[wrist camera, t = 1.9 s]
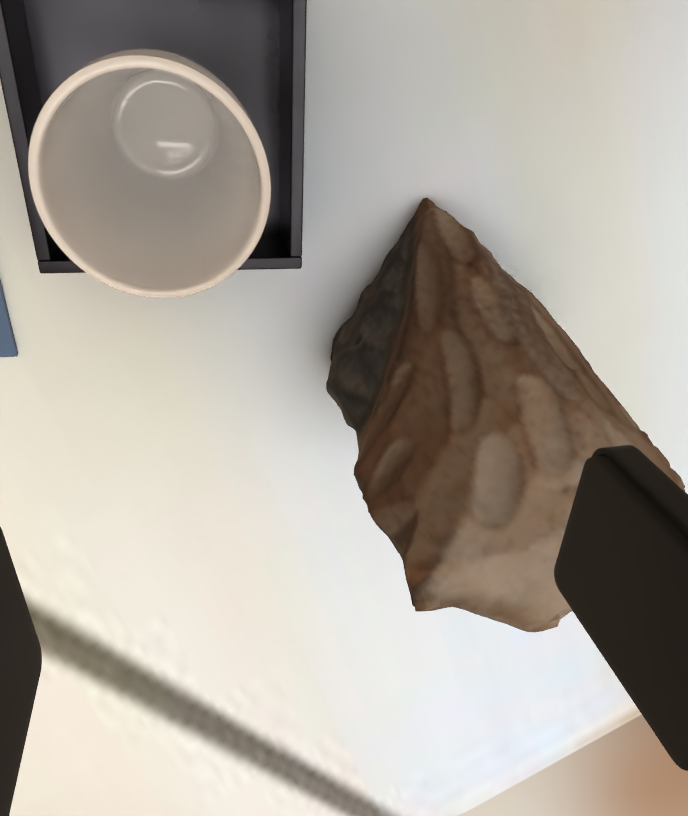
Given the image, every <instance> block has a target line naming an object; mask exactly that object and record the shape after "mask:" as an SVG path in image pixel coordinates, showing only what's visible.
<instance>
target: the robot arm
mask: <svg viewBox="0 0 688 816" xmlns="http://www.w3.org/2000/svg"><path fill="white" fill-rule="evenodd" d="M554 578H555V582H556V585H557V588H558V589H559V591H560V593H561V594H562V596H563V597H564V599H565V600H566V602H567V603H568V605H569V606H570V608H571V609H572V610H573V612H574V613H575V615H576V616H577V618H578V619H579V621H580V622H581V624H582V625H583V627H584V628H585V630H586V631H587V633H588V634H589V636H590V637H591V639H592V640H593V642H594V643H595V645H596V646H597V648H598V649H599V651H600V652H601V654H602V655H603V657H604V658H605V660H606V661H607V663H608V664H609V666H610V667H611V669H612V670H613V672H614V673H615V675H616V676H617V678H618V679H619V681H620V682H621V684H622V685H623V687H624V688H625V690H626V691H627V693H628V694H629V696H630V697H631V699H632V700H633V702H634V703H635V705H636V706H637V708H638V709H639V710H640V712H641V713H642V715H643V716H644V718H645V719H646V721H647V722H648V724H649V725H650V727H651V728H652V730H653V731H654V732H655V734H656V736H657V737H658V739H659V740H660V742H661V743H662V745H663V746H664V748H665V749H666V751H667V752H668V754H669V755H670V757H671V758H672V759H673V761H674V762H675V763H676V764H677V765H678V766H679V767H680V768H681V769H684V770H688V494H687V493H685V492H684V491H683V490H682V489H681V488H680V487H679V486H678V485H677V484H676V483H675V482H674V481H672V480H671V479H670V478H669V477H668V476H667V475H666V474H665V473H664V472H663V471H662V470H661V469H659V468H658V467H657V466H656V465H655V464H654V463H653V462H652V461H651V460H650V459H649V458H648V457H646V456H645V455H644V454H643V453H642V452H641V451H640V450H639V449H638V448H636V447H634V446H632V445H622V446H613V447H604V448H599V449H597V450H596V451H595V452H594V453H593V455H592V457H591V458H588V459H587V460H586V462H585V464H584V467H583V470H582V474H581V477H580V481H579V484H578V488H577V491H576V494H575V498H574V501H573V505H572V508H571V512H570V515H569V519H568V522H567V526H566V529H565V533H564V536H563V539H562V543H561V546H560V550H559V553H558V557H557V560H556V564H555V567H554ZM41 664H42V654H41V647H40V643H39V640H38V637H37V634H36V631H35V628H34V625H33V622H32V619H31V616H30V613H29V610H28V607H27V604H26V601H25V598H24V595H23V592H22V589H21V586H20V583H19V580H18V577H17V574H16V571H15V568H14V565H13V562H12V559H11V556H10V553H9V550H8V547H7V544H6V541H5V538H4V535H3V532H2V529H1V527H0V816H9V813H10V808H11V804H12V799H13V795H14V790H15V786H16V781H17V777H18V772H19V768H20V763H21V758H22V754H23V749H24V745H25V740H26V736H27V731H28V727H29V722H30V718H31V713H32V709H33V704H34V699H35V695H36V690H37V686H38V681H39V677H40V672H41Z"/></svg>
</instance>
